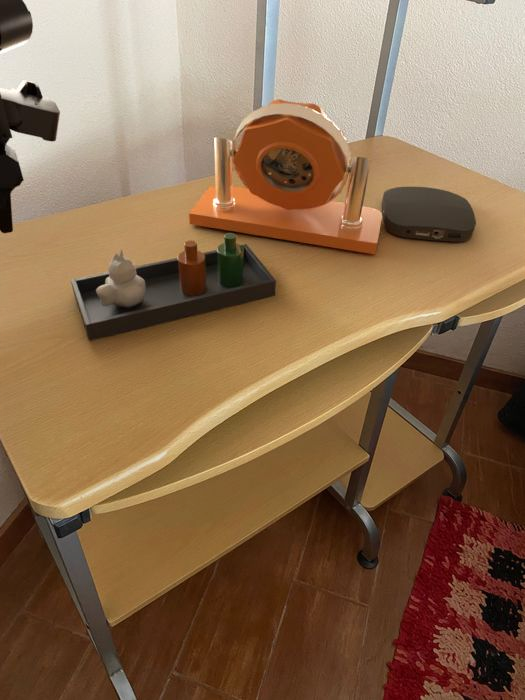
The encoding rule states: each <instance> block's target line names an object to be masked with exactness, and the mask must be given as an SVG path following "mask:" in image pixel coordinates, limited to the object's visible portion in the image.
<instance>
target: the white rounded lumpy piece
mask: <svg viewBox="0 0 525 700" xmlns="http://www.w3.org/2000/svg"><path fill="white" fill-rule="evenodd" d="M137 266H138V265H137V264H136V263H134V262H132V261H131V259H130V258H128V257H127V256H126V255H125V256H124V252H123V249H122V248H121V249H120V252H119V253H115V254H114V256H113V257H112V258H111V260H110V262H109V264H108V272H109V277H108V278H106V280H105V285H102V286H100V287H98V288H97V289H96V292H97V295H98V296H99V297H100V299H101V304H102V305H103V306H110V305H112V304H115V305H117V306H120V307H125V308H130V307H133V306H135V305H137V304H139V303H140V302H141V301H142V300H143V298H144V295H145V291H146V285H145V280H144V279H143V278H141V277H140V276H138V275H136V269H137Z"/></svg>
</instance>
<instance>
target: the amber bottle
mask: <svg viewBox="0 0 525 700" xmlns="http://www.w3.org/2000/svg"><path fill="white" fill-rule="evenodd" d="M183 245H184V251H181V252H180V253H178V255H177V258H178V270H179V282H180V290H181V292H182V293H183V294H185V295H189V296H197V295H200V294H202V293H204V292H205V291H206V265H205V255H204V254H203V253H204V252H202V251H200V250H198V243H197V241H195V240H186V241H185V242H184V243H183Z"/></svg>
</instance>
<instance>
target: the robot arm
mask: <svg viewBox="0 0 525 700" xmlns="http://www.w3.org/2000/svg"><path fill="white" fill-rule="evenodd" d="M33 28H34V23H33V17H32V13H31V11H30V10H29V8H28V7H27V5H26V3H25V2H24V0H0V54H3V53H5V52H8V51H10V50H13V49H15V48H17V47H20V46H22V45H24V44H26V43H27V42H28V41H29V40H30V39H31V37H32V34H33ZM60 116H61V110H60V109H59V107H58V105H57V103H56V102H55V101H53V100H52V99H51V98H50V97H48V96H46V97H43V94H42V91H41V89H40V86H39V84H38V83H37V82H35V81H31V80H27V79H23V80H22V81H21V82H20V84H19V85H18V87H17V88H16V89H15V88H13V87H11V88H10V89H7V88H2V87H0V232H1V233H2V234H9V233H13V231H14V227H13V211H12V192H13V191H14V190H15V189H16V188H17V187H19V186H21V185H22V183H23V182H24V176H23V172H22V169H21V166H20V162H19V159H18V158H19V157H18V155H17V152H16V149H14V148H13V147H11V146H9V145H8V144H7V143H8V142H9V140H10V139H13V135H12V131H13V132H15V133H18V134H23V135H27V136H31V137H36V138H41V139H42V140H43V141H46V142H56V141H57V137H58V130H59V122H60Z"/></svg>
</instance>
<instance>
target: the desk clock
mask: <svg viewBox="0 0 525 700" xmlns="http://www.w3.org/2000/svg"><path fill="white" fill-rule="evenodd" d="M242 131H243V132H242ZM241 133H242V136H241V138H240V143H239V145H238V139H239V136H240V134H241ZM213 140H214V143H213V144H214V145H213V146H214V147H213V148H214V180H215V181H214V184H215V185H212V186H210V187H208V188H207V189H206V191H204V193H203V194H202V196H201V197H200V198H199V199H198V201H197V202H196V203H195V205H194V206H193V207H192V208H191V210H190V211H189V212H188V220H189V225H193V226H201V227H204V228H212V229H218V230H224V231H229V232H236V233H242V234H249V235H254V236H261V237H265V238H266V237H267V238H273V239H278V240H285V241H291V242H298V243H303V244H308V245H315V246H320V247H321V246H322V247H328V248H333V249H341V250H345V251H346V250H347V251H351V252H359V253H364V254H371V255H376V251H377V246H378V241H379V236H380V232H381V231H380V230H381V224H382V221H383V216H382V211H380V210H378V209H376V208H373V207H369V206H366V205H364V200H365V196H366V191H367V185H368V178H369V173H370V167H371V162H372V160H371V159H370V158H367V157H362V156H352V155H351V148H350V147H349V144H348V141H347V140H348V139H347V138H346V137H345V134H344V131H343V130H342V129H341V128H339V126H337V125H336V124H335V123H334V122H333V120H331V119H330V118H329V116H328V115H327V114H326V113H325V111H323V109H322V108H321V106H319V105H317V104H315V103H314V102H313V103H312V102H311V103H308V102H307V103H303V102H296V101H295V102H294V101H288V100H283V99H280V98H279V99H275V100H274V99H273V100H271V102H270V103H269V104H268V105H265V106H261V107H259V108H258V109H256V110H252V111H251V113H249V114H248V115H247V116H246V117H244V118H243V120H242V121H241V122H240V124H239V125H238V127H237V130H236V131H235V135H234V139H233V141H232V140H229V139H226V138H222V137H214V138H213ZM233 169H234V172H235V174H236V176H237V178H238V179H239V180H240V182H241V184H242V185H243V186H244V187H241V186H236V185H235V186H234V185H233ZM347 180H348V182H347ZM346 183H347V189H346V195H345V201H344V202H341V201H335V200H334V199H336V198H337V197H338V196H339V194H341V193H342V191H343V189H344V187H345V185H346Z"/></svg>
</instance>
